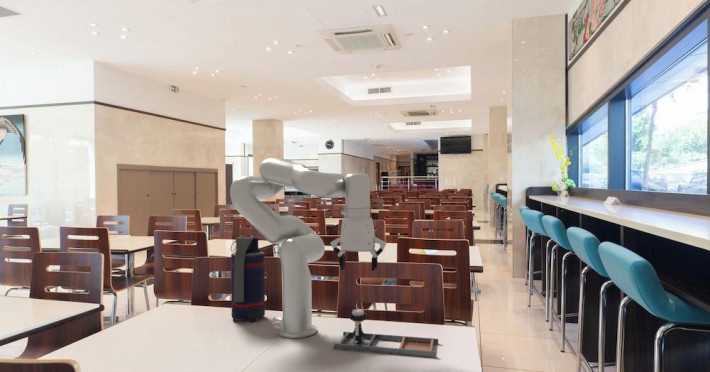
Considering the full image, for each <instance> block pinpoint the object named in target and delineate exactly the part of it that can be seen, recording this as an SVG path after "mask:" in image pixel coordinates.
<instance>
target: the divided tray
mask: <svg viewBox="0 0 710 372" xmlns="http://www.w3.org/2000/svg"><path fill="white" fill-rule="evenodd" d="M342 333H343V334H342V339H341V340H340V341H339V343H336V342H335V343H333V350H343V351H353V352H354V351H355V352H365V353H375V354H376V353H377V354H389V355H400V356H411V357H412V356H413V357H423V358H434V359H435V358H437V351H434V350H433V349H434V345H439V338H432V337H421V336H420V337H419V336H407V335H405V336H404V335H396V334H395V335H394V334H393V335H392V334H381V333H379V334H378V333H368V332H367V333H366V332H363V333H364V340H365V339H366V340H367V339H368V340H369V342H368V343H367V344H366V345H362V344H360V345H354V344H351V343H350V344H346V342H348V340H349V338H352V339H353V338H354V335H353V331H352V332H351V331H343V332H342ZM376 340H379V341H391V342H400V345H399V347H398V348H397V347H387V346H386V347H383V346H374V343H375V342H376Z"/></svg>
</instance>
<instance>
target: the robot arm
mask: <svg viewBox="0 0 710 372" xmlns="http://www.w3.org/2000/svg"><path fill="white" fill-rule="evenodd" d="M258 172H259V175H243V176H239V177H237V178H236V179H234V180H233V181H232V183H231V184H230V189H229V193H230V194H229V196H230V201H231V203H232V205H233V207H234V208H235V210H236V211H237V212H238V213H239V214H240V215H241V216H242V217H243V218H245V220H247V221H248V222H249V223H250V225H252V226H253V228H255V230H256V231H257V232H258V233H259V234H260V235H261V236H262V237H264V239H265V240H266V241H267V242H269V243H270V244H273V245H280V246H279V252H278V254H279V260H280V265H281V272H282V273H281V275H282V277H281V278H282V317H272V319H271V323H272V326H279V328H278V331H277V334H278V335H279V336H281V337H283V338H288V339H302V338H306V337H311V336H313V335H314V334H316V333H317V328H318V327H317V326H316V325H315V324H313V323H312V322H313V319H312V318H313V316H312V315H313V314H312V313H313V312H312V311H313V310H312V308H313V307H312V302H313V300H312V274H311V271H310V268H309V266H308V265H309V263H313V262H316V261H318V260H320V259H321V258H322V257H323V256H324V254H325V250H326V249H325V246H326V245H325V243H324V240H323V239H322V238H321V236H320V235H319V234H317V232H316V231H314V230H313V229H312V228H311V226H310V225H308V224H307V223H306V222H305V221H303V219H301V218H299V217H298V216H295V215H291V214H288V215H279V214H278V213H277V212H275V211H274V210H273V209H272V208H271V207H270V206H269V205H268V204H266V203H264V202H263V201H261V200H268V199H270V198H273V197H274V196H275V195H277V194H278V193H280V192H282V190H284V189H285V188H286V187H287V188H290V189H293V190H294V189H295V190H296V191H299V192H301V193H303V194H307V195H311V196H314V197H318V198H324V199H325V198H328V199H329V198H344V199H345V200H344V201H345V203H344V204H345V208H344V209H340V215H344V218H342V222H341V229H340V236H339V237H338V238H336V239H334V240H332V241H330V245H331V247H332V249H333V251H334V253H335V254H336V255H337V256H338V258H339V259H338V266H339V268H340V270H341V271H343V270H345V268H346V255H345V253H346V252H361V253H362V252H363V253H364V252H367V253H368V252H369V253H370V255H371V256H372V257H371V271H372V272H374V271H375V270H377V268H378V256H380V254H382V253H383V252H384V250H385V247H386V246H387V242H386V241H384V240H382V239H380V238H379V237H376V235H375V226H374V221H373V218H372V217H371V208H370V207H371V206H370V205H371V204H370V203H371V202H370V200H371V198H370V196H371V193H370V191H371V190H370V188H371V187H370V185H371V184H370V176H369V175H368V174H367V173H360V172H359V173H358V172H356V173H349V174H346V173H336V172H335V173H334V172H321V171H316V170H313V169H308V168H307V166H306V165H305V164H304V163H299V162H293V161H292V160H290V159H286V158H275V157H271V158H267V159H264V160H263V161H262V162H261V163H260V165H259V168H258ZM338 243H340V244H339V245H340V248H339V247H338ZM376 244H378V245H380V246H379V248H378V250H377V249H376V248H375V247H376Z"/></svg>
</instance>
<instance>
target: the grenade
mask: <svg viewBox="0 0 710 372" xmlns="http://www.w3.org/2000/svg"><path fill="white" fill-rule="evenodd" d="M234 244H235V247H234V249H233V245H234ZM232 249H233V250H232ZM230 251H231V255H230V263H231V265H230V266H231V268H230V273H231V274H230V278H231V280H230V281H231V283H230V284H231V287H230V288H231V290H230V292H231V297H230V299H231V300H230V301H231V318H232V321H234V322H237V321H249V323H251V324H253V323H256V322H257V320H260V319H261V318H263V317H265V315H266V286H265V285H266V283H265V282H266V280H265V279H266V277H265V275H266V273H265V269H266V268H265V261H266V260H265V259H266V258H265V255H266V254H265V251H261V249H260V248H259V237H257V236H254V237H252V236H239V237H236V238H235V240H234V241H232V243H231V245H230ZM234 251H235V252H234Z"/></svg>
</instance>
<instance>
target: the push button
mask: <svg viewBox="0 0 710 372" xmlns="http://www.w3.org/2000/svg"><path fill="white" fill-rule="evenodd" d="M367 315H368V313H366V312H364V309H361V308H355V309H352V311H351V312H350V313H349V317H350V321H352V322H354V330H353V331H352V332H353V335H354V338H352V343H353V345H362V344H364V342H365V339H364V333H365V332H364V330H363V327H362V322H364V321H366V319H367Z"/></svg>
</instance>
